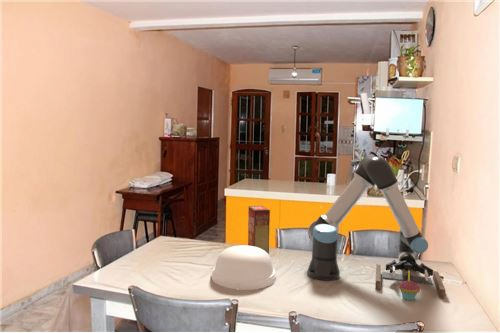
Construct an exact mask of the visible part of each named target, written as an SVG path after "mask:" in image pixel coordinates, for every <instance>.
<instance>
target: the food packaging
mask: <svg viewBox="0 0 500 333" xmlns="http://www.w3.org/2000/svg"><path fill="white" fill-rule="evenodd" d="M247 214H248V218H247V219H248V223H247V225H248V227H247V231H248V232H247V234H248V236H247V238H248V239H247V245H248V246H254V247H258V248H261V249H263V250H264V251H266V252H267V253H268V254H269V255H270V222H271V221H270V219H271V218H270V217H271V216H270V215H271V210H270V209H269V208H267V207H265V206H264V205H249V206H248V213H247Z"/></svg>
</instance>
